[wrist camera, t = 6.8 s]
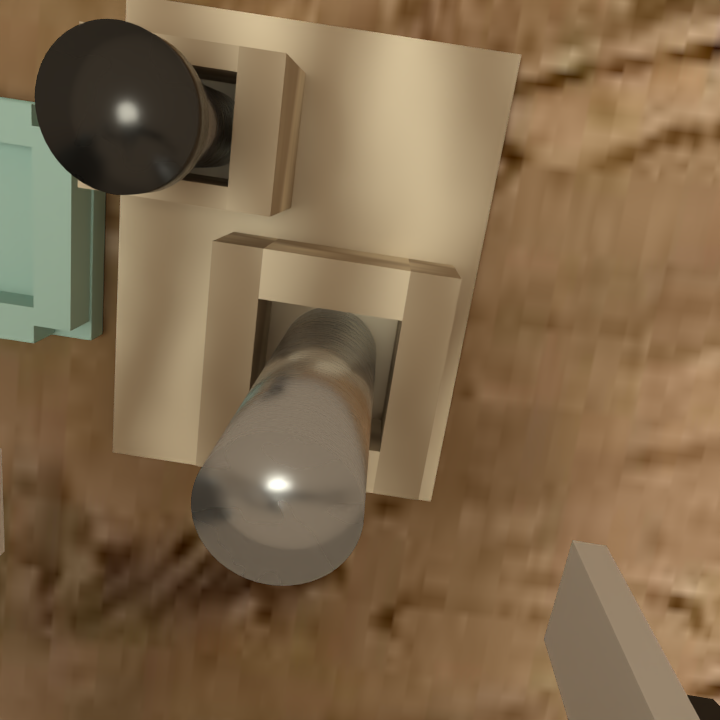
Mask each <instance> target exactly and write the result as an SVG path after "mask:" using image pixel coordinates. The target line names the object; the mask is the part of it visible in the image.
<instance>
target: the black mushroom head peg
mask: <svg viewBox="0 0 720 720" xmlns="http://www.w3.org/2000/svg"><path fill="white" fill-rule="evenodd" d="M234 104H235V101H234V100H233V99H232V98H230V97H229V96H228V95H226V94H224V93H222V92H220V91H218V90H215V89H213V88H211V87H208V86H206V85H204V84H202V82H201V80H200V78H199V76H198V74H197V72H196V71H195V69H194V68H193V66H192V65H191V63H190V62H189V61H188V60H187V58H186V57H185V56H184V55H183V54H182V53H181V52H180V51H179V50H178V49H177V48H176V47H174V46H173V45H172V44H170V43H169V42H167V41H166V40H164V39H162V38H161V37H159V36H157V35H155V34H153V33H151V32H150V31H148V30H146V29H144V28H142V27H140V26H138V25H135V24H133V23H130V22H126V21H122V20H115V19H98V20H93V21H88V22H85V23H82V24H80V25H77V26H75V27H73V28H72V29H70V30H68V31H67V32H65V33H64V34H63V35H62V36H60V37H59V38H58V39H57V40H56V41H55V43H54V44H53V45H52V46H51V47H50V49H49V50H48V52H47V53H46V55H45V57H44V59H43V61H42V63H41V66H40V69H39V72H38V75H37V80H36V86H35V109H36V115H37V120H38V123H39V127H40V130H41V133H42V135H43V137H44V140H45V142H46V144H47V146H48V147H49V149H50V151H51V152H52V154H53V155H54V157H55V158H56V159H57V161H58V162H59V163H60V164H61V165H62V166H63V167H64V168H65V169H66V170H67V171H68V172H69V173H70V174H71V175H72V176H74V177H75V178H76V179H78V180H79V181H81V182H82V183H84V184H86V185H88V186H90V187H92V188H94V189H96V190H99V191H102V192H105V193H110V194H116V195H135V194H144V193H151V192H156V191H160V190H163V189H166V188H169V187H170V186H172V185H174V184H176V183H178V182H179V181H180V180H182V179H183V178H184V177H185V176H186V175H187V174H188V173H189V172H190V171H191V170H192V169H193V168H212V167H220V166H224V165H226V164H228V163H230V155H231V142H232V129H233V117H234Z"/></svg>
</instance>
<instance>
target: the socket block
mask: <svg viewBox="0 0 720 720" xmlns="http://www.w3.org/2000/svg"><path fill="white" fill-rule="evenodd" d="M126 22H130V23H133V24H135V25H138V26H140V27H142V28H144V29H146V30H148V31H150V32H151V33H153V34H155V35H157V36H159V37H161V38H162V39H164V40H166V41H167V42H169V43H170V44H172V45H173V46H174V47H176V48H177V49H178V50H179V51H180V52H181V53H182V54H183V55H184V56H185V57H186V58H187V60H188V61H189V62H190V63H191V65H192V66H193V68H194V69H195V71H196V72H197V74H198V76H199V78H200V80H201V82H202V84H204V85H206V86H208V87H211V88H213V89H215V90H218V91H220V92H222V93H224V94H226V95H228V96H229V97H230V98H232V99H233V100H234V101H235V104H234V117H233V129H232V142H231V155H230V163H228V164H226V165H224V166H220V167H212V168H193V169H192V170H191V171H190V172H189V173H188V174H187V175H186V176H185V177H184V178H183V179H182V180H180V181H179V182H178V183H176V184H174V185H172V186H170V187H169V188H166V189H163V190H160V191H156V192H151V193H144V194H135V195H120V226H119V259H118V292H117V325H116V358H115V392H114V425H113V452H114V453H120V454H127V455H133V456H140V457H146V458H153V459H159V460H166V461H172V462H179V463H185V464H192V465H196V466H199V467H202V466H203V464H204V463H205V461H206V460H207V458H208V456H209V455H210V453H211V452H212V450H213V448H214V447H215V445H216V444H217V442H218V440H219V439H220V437H221V436H222V434H223V432H224V431H225V429H226V428H227V426H228V424H229V423H230V421H231V420H232V418H233V416H234V415H235V413H236V412H237V410H238V408H239V407H240V405H241V404H242V402H243V401H244V399H245V397H246V396H247V394H248V393H249V391H250V389H251V388H252V386H253V385H254V383H255V381H256V380H257V378H258V377H259V375H260V373H261V372H262V370H263V369H264V367H265V365H266V364H267V362H268V361H269V359H270V357H271V356H272V354H273V353H274V351H275V349H276V348H277V346H278V345H279V343H280V341H281V340H282V338H283V337H284V335H285V333H286V332H287V330H288V329H289V327H290V326H291V324H292V323H293V322H294V321H295V320H296V319H297V318H298V317H300V316H301V315H303V314H304V313H306V312H308V311H310V310H313V309H317V308H322V309H329V310H335V311H342V312H348V313H352V314H354V315H355V316H357V317H358V318H359V319H360V320H362V321H363V322H364V323H365V325H366V326H367V327H368V329H369V330H370V332H371V334H372V336H373V338H374V341H375V345H376V367H375V380H374V393H373V406H372V419H371V432H370V445H369V458H368V470H367V483H366V492H368V493H375V494H381V495H388V496H394V497H401V498H407V499H414V500H418V499H419V500H425V501H431V497H432V492H433V487H434V482H435V478H436V473H437V468H438V463H439V458H440V453H441V448H442V443H443V438H444V433H445V428H446V423H447V418H448V414H449V409H450V404H451V399H452V394H453V389H454V384H455V379H456V374H457V369H458V364H459V359H460V355H461V350H462V345H463V340H464V335H465V330H466V325H467V320H468V315H469V310H470V305H471V300H472V296H473V291H474V286H475V281H476V276H477V271H478V266H479V261H480V256H481V251H482V246H483V241H484V236H485V232H486V227H487V222H488V217H489V212H490V207H491V202H492V197H493V192H494V187H495V182H496V177H497V173H498V168H499V163H500V158H501V153H502V148H503V143H504V138H505V133H506V128H507V123H508V118H509V114H510V109H511V104H512V99H513V94H514V89H515V84H516V79H517V74H518V69H519V64H520V59H521V55H520V54H514V53H507V52H500V51H494V50H487V49H481V48H474V47H468V46H461V45H455V44H448V43H442V42H435V41H429V40H422V39H415V38H409V37H402V36H396V35H389V34H383V33H376V32H370V31H363V30H357V29H350V28H344V27H337V26H330V25H324V24H317V23H311V22H304V21H298V20H291V19H285V18H278V17H272V16H265V15H259V14H252V13H245V12H239V11H232V10H226V9H219V8H213V7H206V6H200V5H193V4H187V3H180V2H174V1H167V0H126ZM82 23H85V22H79V25H80V24H82ZM78 187H79V188H85V189H92V190H96V189H94V188H92V187H90V186H88V185H86V184H84V183H82V182H81V181H79V180H78ZM98 191H99V190H98Z"/></svg>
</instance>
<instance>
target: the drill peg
mask: <svg viewBox="0 0 720 720" xmlns="http://www.w3.org/2000/svg"><path fill="white" fill-rule="evenodd" d="M375 367H376V345H375V341H374V338H373V336H372V334H371V332H370V330H369V329H368V327H367V326H366V325H365V323H364V322H363V321H362V320H360V319H359V318H358V317H357V316H355V315H354V314H352V313H348V312H342V311H335V310H329V309H322V308H317V309H313V310H310V311H308V312H306V313H304V314H303V315H301V316H300V317H298V318H297V319H296V320H295V321H294V322H293V323H292V324H291V326H290V327H289V329H288V330H287V332H286V333H285V335H284V337H283V338H282V340H281V341H280V343H279V345H278V346H277V348H276V349H275V351H274V353H273V354H272V356H271V357H270V359H269V361H268V362H267V364H266V365H265V367H264V369H263V370H262V372H261V373H260V375H259V377H258V378H257V380H256V381H255V383H254V385H253V386H252V388H251V389H250V391H249V393H248V394H247V396H246V397H245V399H244V401H243V402H242V404H241V405H240V407H239V408H238V410H237V412H236V413H235V415H234V416H233V418H232V420H231V421H230V423H229V424H228V426H227V428H226V429H225V431H224V432H223V434H222V436H221V437H220V439H219V440H218V442H217V444H216V445H215V447H214V448H213V450H212V452H211V453H210V455H209V456H208V458H207V460H206V461H205V463H204V464H203V466H202V468H201V469H200V471H199V473H198V475H197V477H196V480H195V483H194V486H193V490H192V497H191V510H192V517H193V521H194V525H195V528H196V530H197V533H198V535H199V537H200V539H201V540H202V542H203V544H204V545H205V547H206V548H207V549H208V551H209V552H210V553H211V554H212V555H213V556H214V557H215V558H216V559H217V560H218V561H219V562H220V563H221V564H223V565H224V566H225V567H226V568H228V569H229V570H231V571H233V572H234V573H236V574H238V575H240V576H242V577H244V578H246V579H249V580H252V581H255V582H259V583H263V584H268V585H278V586H288V585H298V584H303V583H307V582H311V581H314V580H316V579H319V578H321V577H323V576H325V575H327V574H329V573H331V572H332V571H333V570H335V569H336V568H338V567H339V566H340V565H341V564H342V563H343V562H344V561H345V560H346V559H347V558H348V557H349V555H350V554H351V553H352V551H353V550H354V548H355V546H356V545H357V543H358V540H359V538H360V535H361V532H362V528H363V521H364V509H365V496H366V483H367V470H368V458H369V445H370V432H371V419H372V406H373V393H374V380H375Z"/></svg>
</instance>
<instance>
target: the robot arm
mask: <svg viewBox="0 0 720 720" xmlns="http://www.w3.org/2000/svg"><path fill="white" fill-rule="evenodd" d="M4 551H5V548H4V517H3V486H2V454H1V448H0V555H1V554H2V553H3V552H4ZM544 641H545V644H546V647H547V651H548V654H549V657H550V661H551V664H552V667H553V671H554V674H555V677H556V680H557V684H558V687H559V690H560V694H561V697H562V700H563V704H564V707H565V710H566V714H567V717H568V720H720V706H719V705H718V704H717V703H716V702H715V701H714V700H713V699H709V698H703V697H697V696H690V695H686V693H685V691H684V689H683V687H682V685H681V683H680V682H679V680H678V678H677V676H676V674H675V672H674V670H673V669H672V667H671V665H670V663H669V661H668V659H667V657H666V656H665V654H664V652H663V650H662V648H661V646H660V644H659V643H658V641H657V639H656V637H655V635H654V633H653V631H652V630H651V628H650V626H649V624H648V622H647V620H646V618H645V617H644V615H643V613H642V611H641V609H640V607H639V605H638V604H637V602H636V600H635V598H634V596H633V594H632V592H631V591H630V589H629V587H628V585H627V583H626V581H625V580H624V578H623V576H622V574H621V572H620V570H619V568H618V567H617V565H616V563H615V561H614V559H613V557H612V555H611V554H610V552H609V550H608V548H607V546H605V545H599V544H593V543H586V542H580V541H574V540H572V544H571V547H570V551H569V554H568V558H567V561H566V565H565V568H564V571H563V575H562V578H561V582H560V585H559V589H558V592H557V596H556V599H555V603H554V606H553V610H552V613H551V617H550V620H549V623H548V627H547V630H546V634H545V637H544Z"/></svg>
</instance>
